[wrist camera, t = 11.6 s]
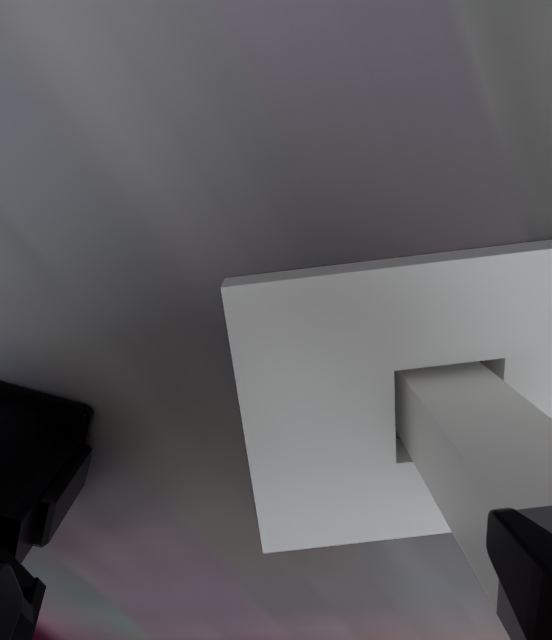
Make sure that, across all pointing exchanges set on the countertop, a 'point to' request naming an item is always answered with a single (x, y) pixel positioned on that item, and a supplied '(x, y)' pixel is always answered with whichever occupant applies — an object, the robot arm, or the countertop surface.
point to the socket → (371, 378)
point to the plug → (476, 457)
